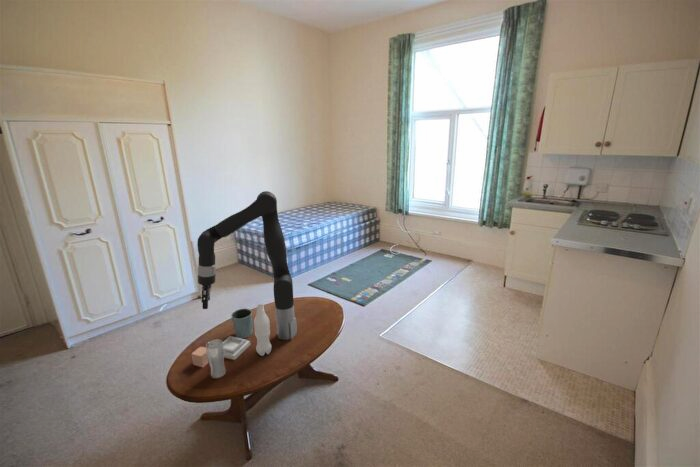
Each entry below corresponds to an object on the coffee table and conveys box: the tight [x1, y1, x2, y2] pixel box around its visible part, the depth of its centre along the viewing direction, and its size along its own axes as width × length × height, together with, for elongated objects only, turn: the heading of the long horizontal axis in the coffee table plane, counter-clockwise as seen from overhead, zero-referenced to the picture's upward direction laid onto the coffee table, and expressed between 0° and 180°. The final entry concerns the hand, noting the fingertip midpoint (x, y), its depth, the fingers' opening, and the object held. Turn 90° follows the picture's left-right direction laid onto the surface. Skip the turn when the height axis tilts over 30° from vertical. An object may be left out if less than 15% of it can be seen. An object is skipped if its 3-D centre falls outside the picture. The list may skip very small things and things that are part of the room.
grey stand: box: [222, 335, 251, 361], centre depth 154 cm, size 12×12×4 cm
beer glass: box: [205, 338, 227, 379], centre depth 136 cm, size 7×7×15 cm
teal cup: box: [230, 308, 254, 339], centre depth 165 cm, size 10×10×12 cm
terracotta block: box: [191, 346, 209, 368], centre depth 144 cm, size 6×6×6 cm
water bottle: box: [253, 303, 272, 357], centre depth 148 cm, size 7×7×25 cm
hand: (206, 304), depth 152 cm, fingers open, 8 cm apart
